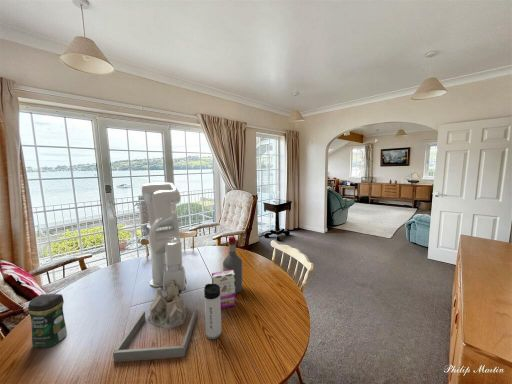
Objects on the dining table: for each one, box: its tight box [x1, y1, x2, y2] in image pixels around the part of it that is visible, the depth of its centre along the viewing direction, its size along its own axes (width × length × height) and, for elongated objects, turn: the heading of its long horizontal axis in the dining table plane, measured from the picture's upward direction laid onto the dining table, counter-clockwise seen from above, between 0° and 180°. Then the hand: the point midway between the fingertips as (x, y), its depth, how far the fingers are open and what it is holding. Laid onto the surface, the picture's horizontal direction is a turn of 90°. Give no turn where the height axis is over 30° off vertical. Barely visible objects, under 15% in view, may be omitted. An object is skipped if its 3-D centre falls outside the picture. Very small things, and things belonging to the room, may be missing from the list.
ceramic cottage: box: [147, 281, 187, 329], centre depth 93 cm, size 16×16×15 cm
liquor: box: [222, 236, 244, 294], centre depth 114 cm, size 9×9×30 cm
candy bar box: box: [211, 270, 237, 309], centre depth 101 cm, size 11×5×16 cm, turn 105°
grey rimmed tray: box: [112, 307, 198, 363], centre depth 83 cm, size 22×24×4 cm
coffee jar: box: [27, 293, 68, 348], centre depth 80 cm, size 10×8×19 cm
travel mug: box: [203, 283, 222, 340], centre depth 83 cm, size 6×7×20 cm
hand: (176, 301), depth 102 cm, fingers closed
